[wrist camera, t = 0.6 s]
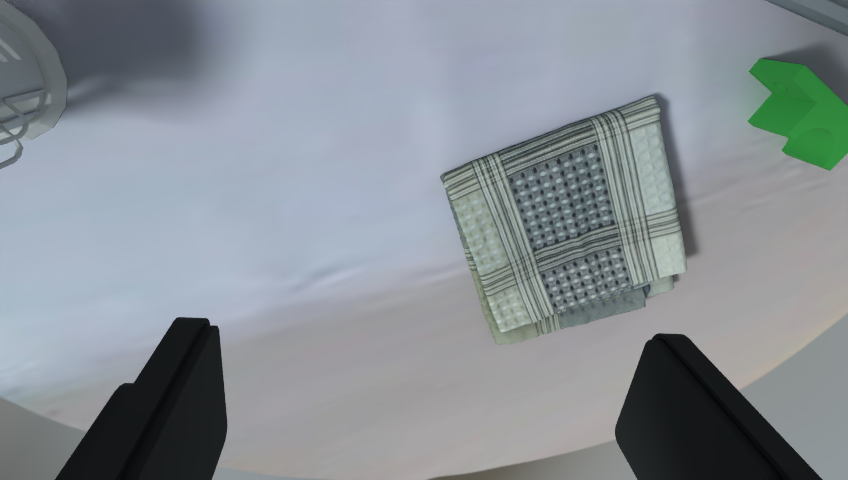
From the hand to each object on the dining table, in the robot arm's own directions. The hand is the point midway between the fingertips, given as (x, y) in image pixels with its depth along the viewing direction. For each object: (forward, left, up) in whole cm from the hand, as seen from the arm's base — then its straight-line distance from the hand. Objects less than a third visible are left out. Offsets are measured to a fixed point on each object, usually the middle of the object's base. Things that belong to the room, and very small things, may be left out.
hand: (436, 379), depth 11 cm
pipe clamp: (-9, +30, -29) cm, 43 cm away
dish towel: (+5, +17, -30) cm, 34 cm away
